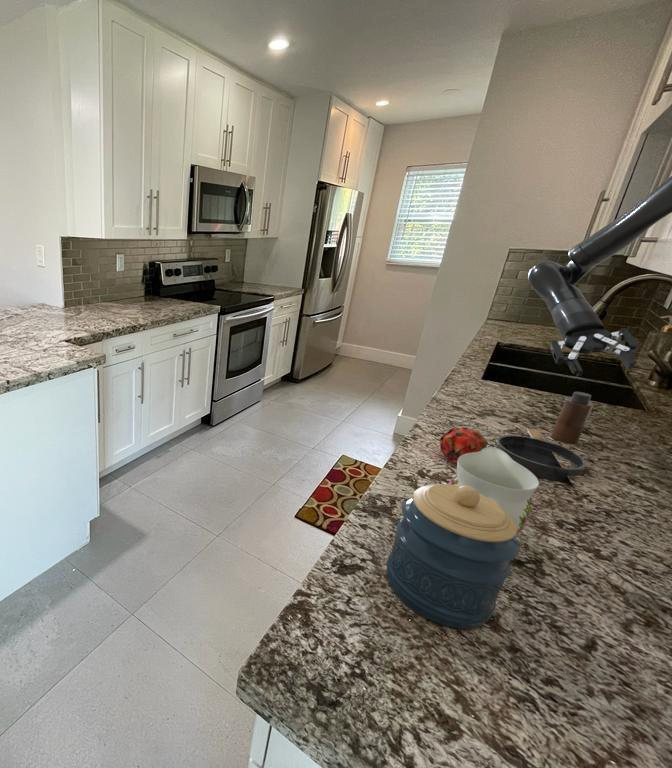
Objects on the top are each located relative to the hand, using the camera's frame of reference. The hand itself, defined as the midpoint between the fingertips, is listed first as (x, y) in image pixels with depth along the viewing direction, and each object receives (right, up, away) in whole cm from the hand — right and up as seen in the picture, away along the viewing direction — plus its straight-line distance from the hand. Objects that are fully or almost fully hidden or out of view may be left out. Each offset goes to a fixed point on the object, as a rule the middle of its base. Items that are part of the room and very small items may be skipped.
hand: (605, 370), depth 96 cm
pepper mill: (-5, -18, +5) cm, 19 cm away
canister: (-65, -33, -37) cm, 82 cm away
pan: (-19, -21, -3) cm, 29 cm away
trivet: (-5, -19, +6) cm, 20 cm away
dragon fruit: (-36, -21, -2) cm, 42 cm away
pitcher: (-52, -30, -27) cm, 65 cm away
